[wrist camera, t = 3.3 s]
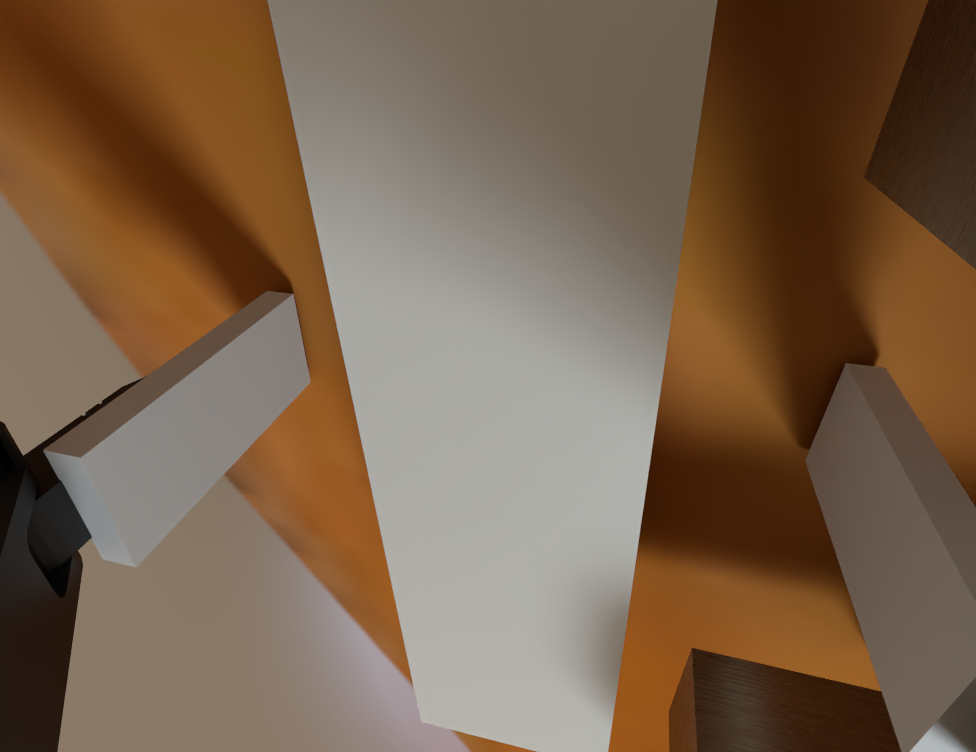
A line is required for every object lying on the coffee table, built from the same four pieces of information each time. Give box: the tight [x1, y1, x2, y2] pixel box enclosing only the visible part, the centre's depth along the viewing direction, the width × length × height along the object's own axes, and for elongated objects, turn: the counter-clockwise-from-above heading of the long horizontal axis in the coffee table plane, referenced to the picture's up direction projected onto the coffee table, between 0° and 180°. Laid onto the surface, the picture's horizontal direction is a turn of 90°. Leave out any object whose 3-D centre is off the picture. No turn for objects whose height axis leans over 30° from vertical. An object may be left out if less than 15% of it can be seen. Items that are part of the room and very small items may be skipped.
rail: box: [268, 0, 718, 752], centre depth 12 cm, size 18×5×5 cm, turn 3°
